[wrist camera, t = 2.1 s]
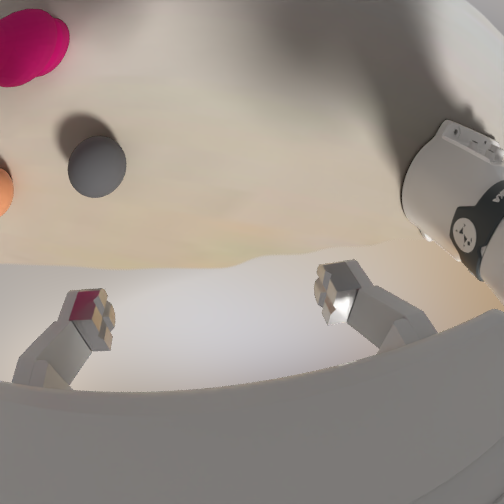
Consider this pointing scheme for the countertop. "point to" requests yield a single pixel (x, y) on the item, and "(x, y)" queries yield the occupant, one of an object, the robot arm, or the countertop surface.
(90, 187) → the dark grey ball
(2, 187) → the object ball
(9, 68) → the pepper mill
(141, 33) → the countertop surface
